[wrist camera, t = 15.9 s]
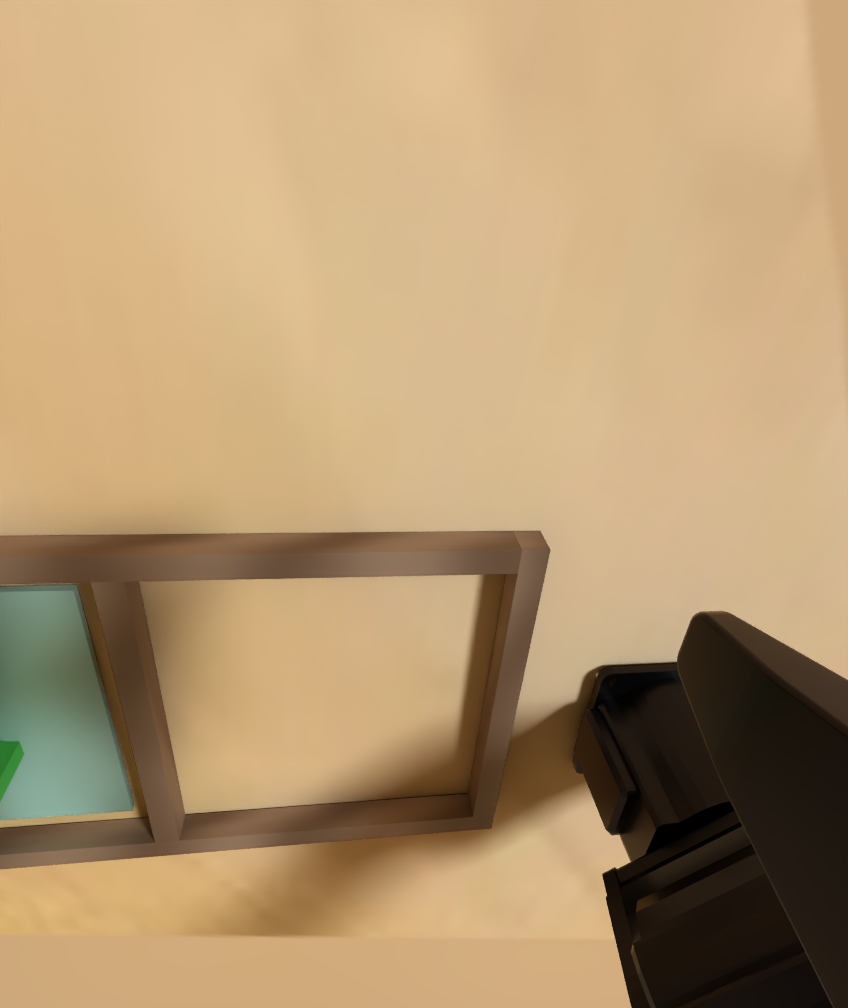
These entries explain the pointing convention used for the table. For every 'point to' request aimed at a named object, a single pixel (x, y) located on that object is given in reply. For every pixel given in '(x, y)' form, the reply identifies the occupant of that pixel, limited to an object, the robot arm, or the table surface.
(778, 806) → the robot arm
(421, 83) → the table surface
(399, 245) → the table surface
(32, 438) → the table surface
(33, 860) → the sorting frame
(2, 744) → the pipe clamp
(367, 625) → the table surface
